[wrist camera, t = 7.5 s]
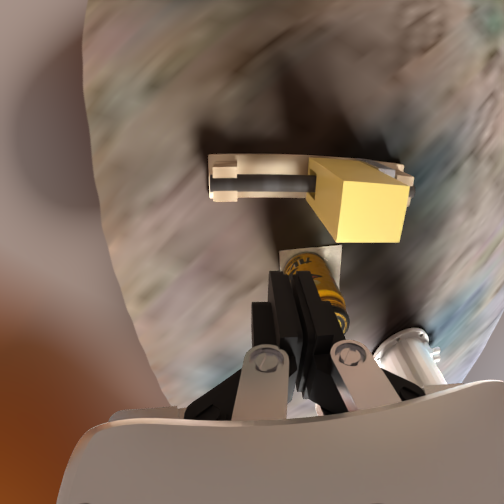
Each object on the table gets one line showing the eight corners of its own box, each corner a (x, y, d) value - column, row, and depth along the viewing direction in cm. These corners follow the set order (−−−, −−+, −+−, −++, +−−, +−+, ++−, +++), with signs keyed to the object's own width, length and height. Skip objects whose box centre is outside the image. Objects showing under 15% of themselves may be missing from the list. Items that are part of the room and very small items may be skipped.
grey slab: (370, 159, 31) (395, 170, 25) (365, 201, 33) (387, 219, 28) (355, 157, 31) (379, 168, 25) (351, 201, 33) (371, 219, 28)
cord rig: (401, 164, 32) (421, 172, 28) (395, 200, 34) (414, 213, 30) (208, 154, 31) (203, 161, 27) (210, 196, 33) (205, 209, 29)
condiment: (278, 250, 37) (294, 308, 26) (341, 244, 37) (377, 296, 26) (281, 296, 40) (294, 359, 30) (338, 289, 40) (366, 347, 30)
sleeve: (358, 160, 30) (409, 186, 20) (354, 201, 32) (399, 242, 22) (308, 157, 30) (343, 180, 20) (306, 200, 32) (336, 242, 22)
